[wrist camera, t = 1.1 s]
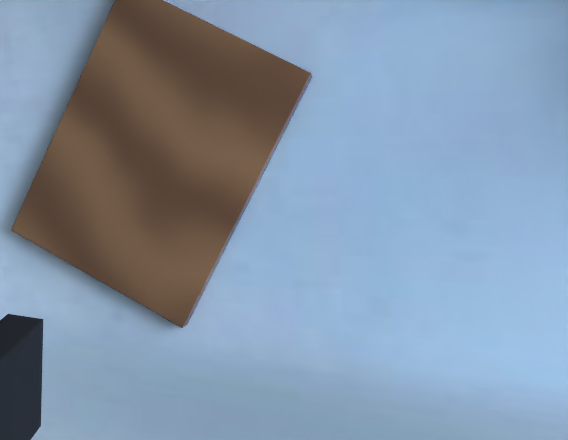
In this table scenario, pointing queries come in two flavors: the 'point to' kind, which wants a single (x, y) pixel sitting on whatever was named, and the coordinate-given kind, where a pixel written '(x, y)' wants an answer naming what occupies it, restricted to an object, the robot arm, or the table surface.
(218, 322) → the table surface
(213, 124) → the plate
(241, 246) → the table surface
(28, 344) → the robot arm
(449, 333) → the table surface
